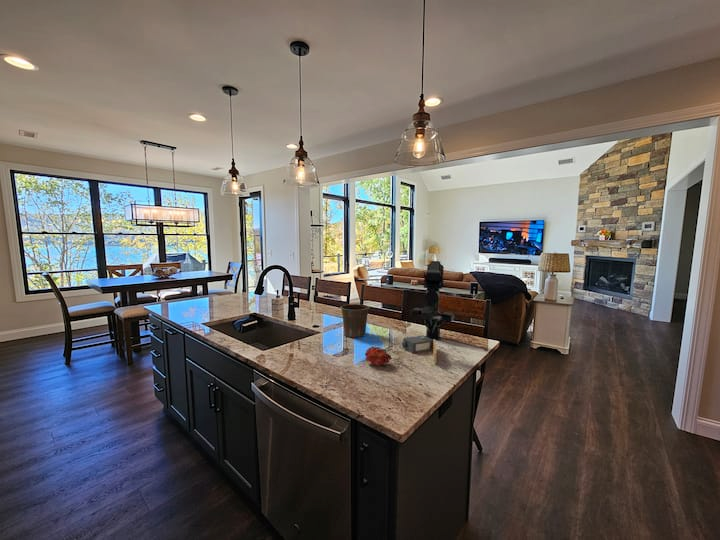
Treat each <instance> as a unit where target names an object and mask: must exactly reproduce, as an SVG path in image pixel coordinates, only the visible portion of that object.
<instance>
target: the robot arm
mask: <svg viewBox="0 0 720 540" xmlns="http://www.w3.org/2000/svg"><path fill="white" fill-rule="evenodd" d="M423 280H424V281H423V288H424V289H426V292H425V294H424V300H425V302H424V306H423V308H421V307H415V308H413V309H412V310H410V316H412V317H418V316H419V315H421V318H422V320H425V321H424V322H425V328H427V329H426V335H425V336H426V337H428V338H430V339H432V340H433V339H435V340H440V339H442V338H443V337H441V335H440V334H441V329H443V327H444V322H449V323H452V322H453V321H454V320H455V314H454V312H451V311H450V312H449V311H445V312H443V313H441V311H440V301H441V300H440V289H442V288H443V287H444V264H441V261H439V260H431V261H429V264H428V265H427V267H426V273H424V279H423Z"/></svg>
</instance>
